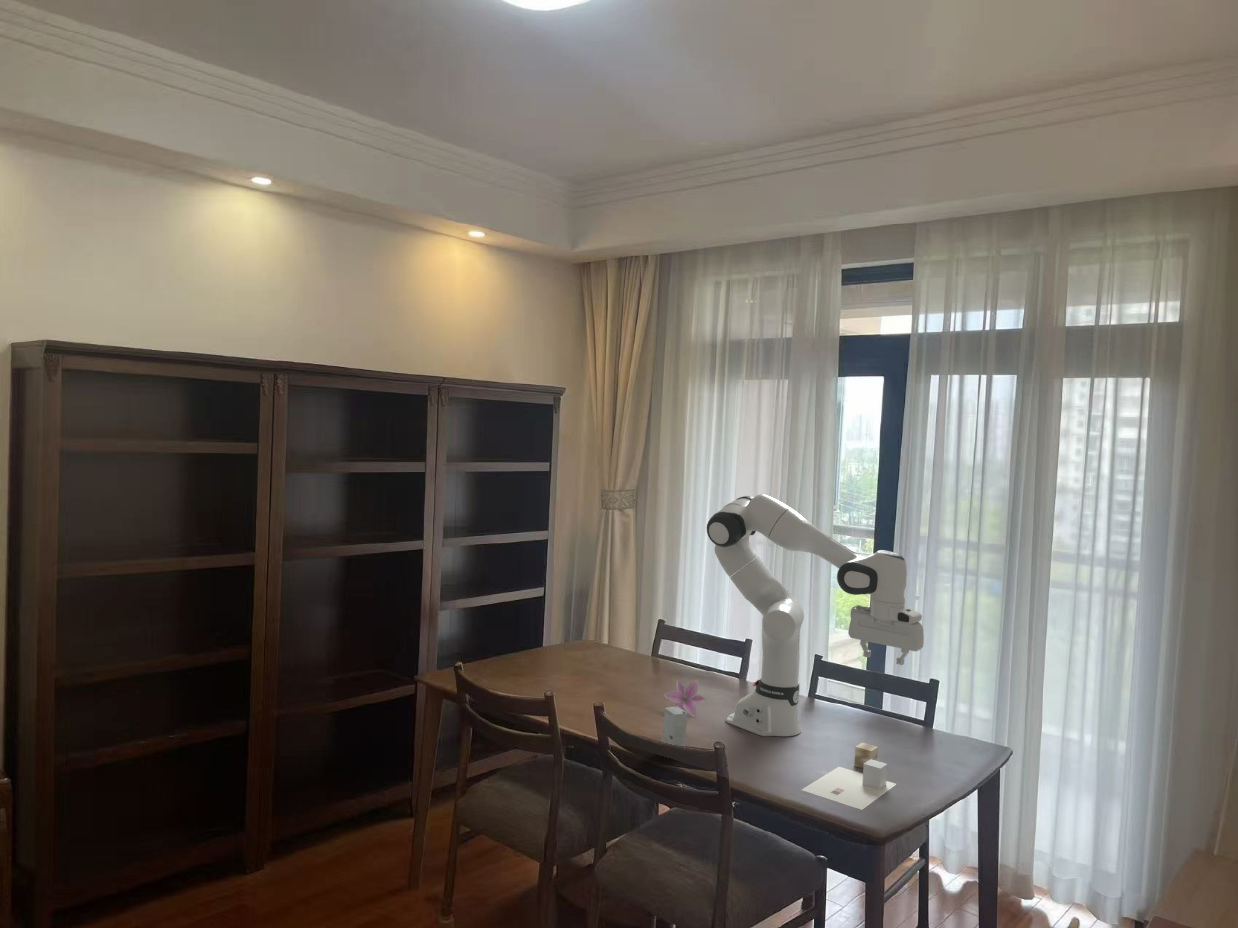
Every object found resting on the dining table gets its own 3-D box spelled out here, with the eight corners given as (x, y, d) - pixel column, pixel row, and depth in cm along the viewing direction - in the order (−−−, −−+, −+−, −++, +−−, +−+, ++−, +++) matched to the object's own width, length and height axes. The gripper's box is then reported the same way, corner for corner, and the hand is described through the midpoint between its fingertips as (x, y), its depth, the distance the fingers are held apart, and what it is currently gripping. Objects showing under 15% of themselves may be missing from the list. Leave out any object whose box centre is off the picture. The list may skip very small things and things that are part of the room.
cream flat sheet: (800, 790, 219) (801, 789, 219) (838, 767, 237) (838, 766, 236) (861, 810, 209) (861, 809, 209) (896, 784, 226) (896, 783, 226)
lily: (658, 711, 279) (660, 690, 274) (679, 690, 287) (682, 669, 282) (689, 731, 273) (692, 710, 267) (710, 709, 281) (713, 688, 275)
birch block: (854, 766, 238) (855, 746, 238) (861, 762, 241) (862, 742, 241) (870, 771, 235) (871, 750, 235) (876, 766, 238) (878, 746, 238)
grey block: (862, 784, 225) (863, 763, 225) (869, 779, 228) (870, 758, 228) (879, 789, 222) (880, 768, 222) (886, 784, 225) (887, 763, 225)
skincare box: (660, 750, 242) (663, 706, 242) (675, 748, 244) (677, 705, 243) (670, 758, 236) (673, 714, 236) (685, 756, 238) (688, 712, 238)
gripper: (846, 605, 244) (842, 654, 245) (919, 618, 231) (915, 670, 232) (856, 602, 249) (852, 650, 249) (927, 615, 236) (923, 666, 237)
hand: (883, 660), depth 240 cm, fingers open, 8 cm apart
